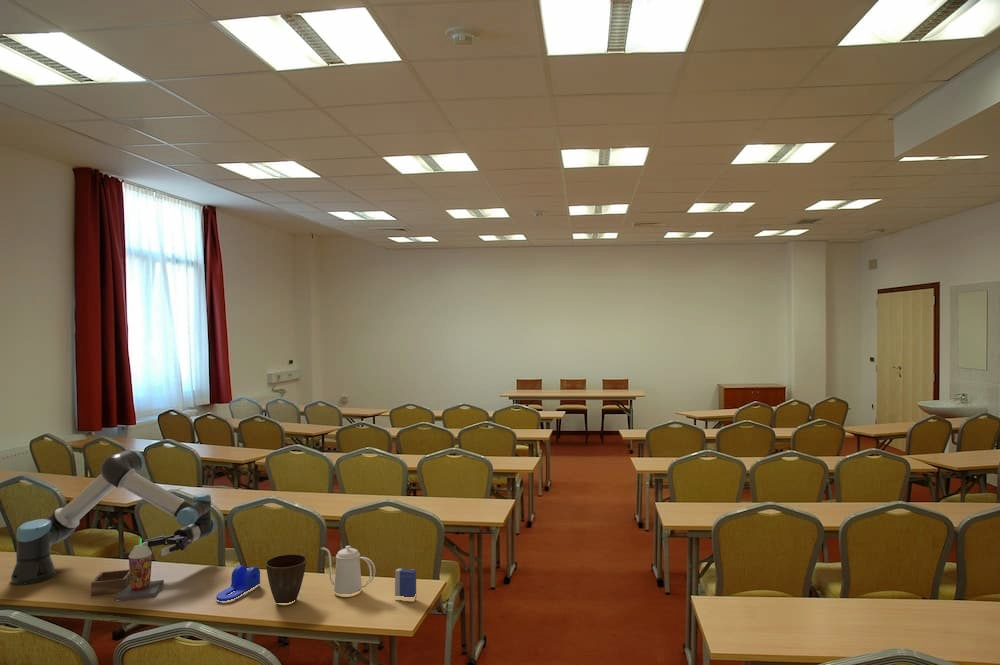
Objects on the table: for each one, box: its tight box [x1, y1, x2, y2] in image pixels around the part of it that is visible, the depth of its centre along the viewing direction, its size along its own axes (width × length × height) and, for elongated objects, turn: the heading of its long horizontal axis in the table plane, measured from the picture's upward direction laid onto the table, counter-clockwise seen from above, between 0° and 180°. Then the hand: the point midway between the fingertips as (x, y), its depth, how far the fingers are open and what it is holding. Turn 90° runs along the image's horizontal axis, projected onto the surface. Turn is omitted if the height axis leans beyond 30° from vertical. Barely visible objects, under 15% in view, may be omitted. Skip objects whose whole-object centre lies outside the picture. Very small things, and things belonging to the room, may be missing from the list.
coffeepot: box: [320, 545, 376, 594], centre depth 247 cm, size 11×25×19 cm, turn 73°
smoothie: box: [128, 537, 153, 591], centre depth 248 cm, size 8×8×20 cm
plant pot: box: [265, 553, 307, 604], centre depth 238 cm, size 15×15×16 cm
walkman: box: [394, 567, 417, 597], centre depth 239 cm, size 8×3×12 cm, turn 74°
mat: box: [114, 579, 165, 602], centre depth 247 cm, size 14×14×2 cm
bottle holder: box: [90, 568, 130, 596], centre depth 252 cm, size 12×12×5 cm
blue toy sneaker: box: [215, 565, 261, 601], centre depth 246 cm, size 18×8×9 cm, turn 164°
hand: (148, 551), depth 251 cm, fingers open, 13 cm apart
